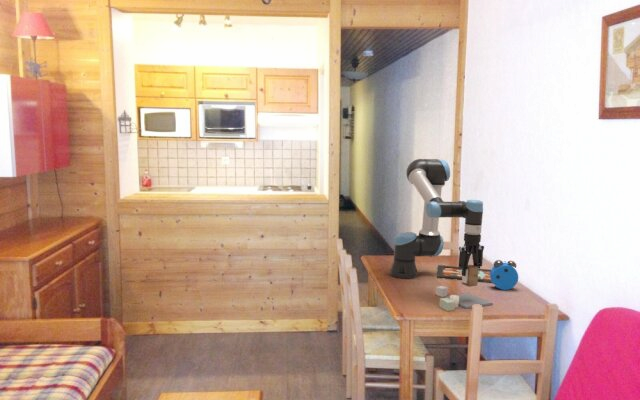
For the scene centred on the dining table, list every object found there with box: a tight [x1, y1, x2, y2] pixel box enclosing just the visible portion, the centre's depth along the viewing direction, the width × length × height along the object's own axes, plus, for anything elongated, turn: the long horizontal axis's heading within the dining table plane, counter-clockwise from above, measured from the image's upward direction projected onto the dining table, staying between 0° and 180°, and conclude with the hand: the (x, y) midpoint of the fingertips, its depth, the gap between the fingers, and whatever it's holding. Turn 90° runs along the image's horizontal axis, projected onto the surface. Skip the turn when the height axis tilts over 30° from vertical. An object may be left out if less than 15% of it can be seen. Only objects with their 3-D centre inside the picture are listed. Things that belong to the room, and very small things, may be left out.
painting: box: [436, 264, 493, 284], centre depth 303 cm, size 28×35×2 cm
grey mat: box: [442, 292, 494, 310], centre depth 254 cm, size 16×16×1 cm
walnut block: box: [461, 264, 479, 288], centre depth 252 cm, size 5×5×9 cm
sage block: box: [438, 297, 456, 312], centre depth 243 cm, size 6×4×4 cm, turn 21°
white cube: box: [435, 285, 448, 298], centre depth 263 cm, size 4×4×4 cm
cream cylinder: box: [449, 294, 460, 309], centre depth 246 cm, size 4×4×5 cm
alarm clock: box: [490, 259, 519, 291], centre depth 277 cm, size 13×6×15 cm, turn 85°
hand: (469, 281), depth 252 cm, fingers closed on walnut block, 5 cm apart
